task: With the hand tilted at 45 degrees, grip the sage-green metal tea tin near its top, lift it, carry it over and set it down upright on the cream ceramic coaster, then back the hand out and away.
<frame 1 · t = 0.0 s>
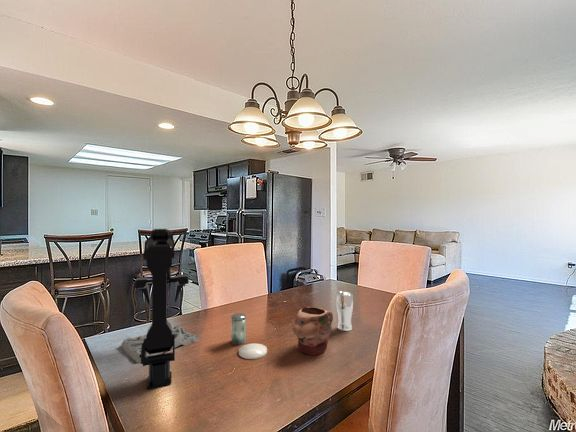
hand: (162, 303, 110), 15 cm above the table, tool pointing down, fingers open, 9 cm apart
beer glass: (344, 328, 123), on the table
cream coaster: (252, 352, 102), on the table
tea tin: (238, 341, 110), on the table
decorative planter: (314, 348, 105), on the table
wall plaque: (162, 345, 108), on the table
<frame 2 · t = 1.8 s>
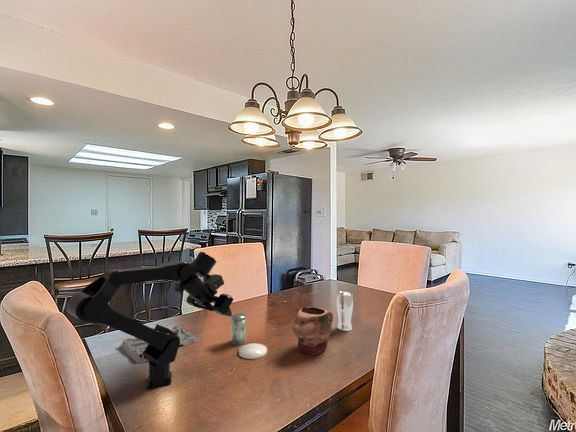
hand: (222, 312, 103), 13 cm above the table, tool tilted 45°, fingers open, 9 cm apart
nothing on the table moved.
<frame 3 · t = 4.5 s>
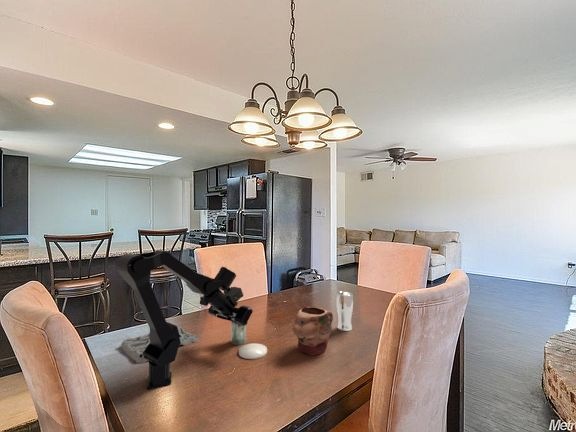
hand: (241, 322, 111), 7 cm above the table, tool tilted 45°, fingers closed on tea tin, 5 cm apart
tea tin: (238, 341, 110), on the table, touching gripper
everything else where it was.
when the fingers open (9 cm above the table, at t = 8.6 s): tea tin drops 1 cm, resting on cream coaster.
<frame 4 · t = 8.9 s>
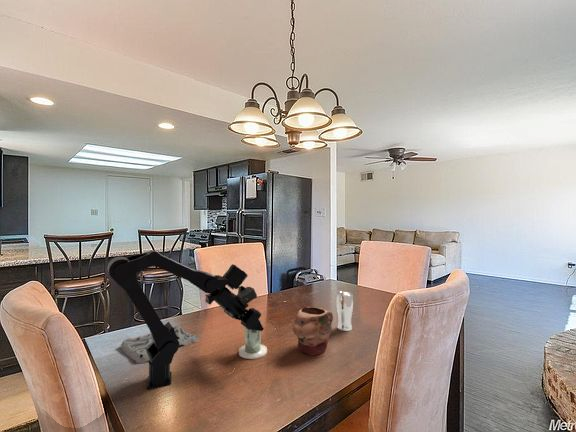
hand: (256, 325, 102), 9 cm above the table, tool tilted 45°, fingers open, 9 cm apart
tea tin: (252, 349, 102), point 1 cm above the table, touching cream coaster
everything else where it was.
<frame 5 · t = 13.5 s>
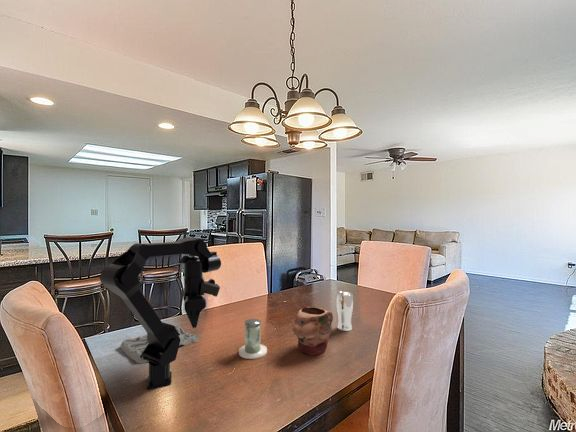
hand: (193, 322, 95), 13 cm above the table, tool pointing down, fingers open, 9 cm apart
nothing on the table moved.
at the end: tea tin 0.1 cm off-centre on the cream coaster, point 0.8 cm above the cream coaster's base; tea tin tilted 0°; the gripper is holding nothing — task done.
